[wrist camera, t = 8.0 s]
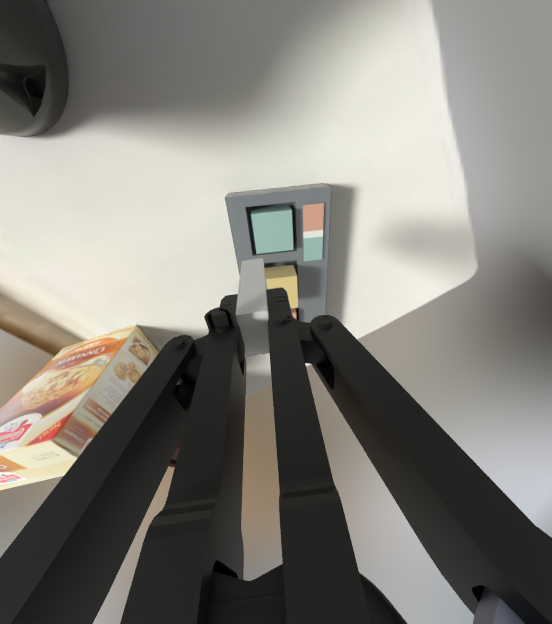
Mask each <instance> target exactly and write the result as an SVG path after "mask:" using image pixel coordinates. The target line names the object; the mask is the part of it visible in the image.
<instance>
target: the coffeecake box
mask: <svg viewBox="0 0 552 624" xmlns="http://www.w3.org/2000/svg"><path fill="white" fill-rule="evenodd" d="M157 354H158V351H157V349H156V348H155V347H154V346H153V345H152V344H151V343H150V341H149V340H148V339H147V337H146V336H145V334H144V333H143V332H142V331H141V330H140V328H139V327H138V326H137V325H134V326H131V327H128V328H125V329H121V330H118V331H115V332H112V333H108V334H105V335H102V336H99V337H96V338H93V339H90V340H86V341H83V342H80V343H77V344H74V345H70V346H67V347H64V348H63V349H62V350H61V351H60V352H59V353H58V354H57V355H56V356H55V357H54V358H53V359H52V360H51V361H50V362H49V363H48V364H47V365H46V366H45V367H44V368H43V369H42V370H41V371H40V372H39V373H37V375H35V376H34V377H33V378H32V379H31V380H30V381H29V382H28V383H27V384H26V385H25V386H24V387H23V388H22V389H21V390H20V391H19V392H18V393H17V394H16V395H15V396H14V397H13V398H12V399H11V400H9V401H8V402H7V403H6V404H5V405H4V406H3V407H2V408H1V409H0V490H3V489H7V488H12V487H16V486H20V485H25V484H29V483H33V482H38V481H42V480H47V479H51V478H55V477H60V476H64V475H65V474H66V473H67V471H68V470H69V469H70V467H71V466H72V465H73V464H74V462H75V461H76V460H77V458H78V457H79V456H80V455H81V453H82V452H83V451H84V449H85V448H86V447H87V445H88V444H89V443H90V442H91V440H92V439H93V438H94V436H95V435H96V434H97V433H98V431H99V430H100V429H101V427H102V426H103V425H104V424H105V422H106V421H107V420H108V418H109V417H110V416H111V415H112V413H113V412H114V411H115V409H116V408H117V407H118V405H119V404H120V403H121V402H122V400H123V399H124V398H125V396H126V395H127V394H128V393H129V391H130V390H131V389H132V387H133V386H134V385H135V384H136V382H137V381H138V380H139V378H140V377H141V376H142V375H143V373H144V372H145V371H146V369H147V368H148V367H149V365H150V364H151V363H152V362H153V360H154V359H155V357H156V356H157Z"/></svg>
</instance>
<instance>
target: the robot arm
mask: <svg viewBox="0 0 552 624" xmlns="http://www.w3.org/2000/svg"><path fill="white" fill-rule="evenodd" d="M67 92H68V71H67V63H66V57H65V53H64V48H63V45H62V41H61V38H60V35H59V32H58V29H57V26H56V24H55V21H54V19H53V16H52V14H51V12H50V10H49V7H48V5H47V3H46V1H45V0H0V134H1V135H11V136H31V135H36V134H39V133H42V132H44V131H46V130H47V129H49V128H50V127H51V126H52V125H54V124H55V122H56V121H57V120H58V118H59V117H60V115H61V113H62V111H63V109H64V106H65V103H66V99H67ZM204 318H205V320H206V323H207V326H208V329H209V334H208V335H206V336H204V337H202V338H199V339H196V340H193V338H192V337H191V336H188V335H181V336H178V337H175V338H173V339H172V340H170V341H169V342H168V343H167V344H166V345H165V346H164V347H163V349H162V350H161V351H160V353H159V354H158V355H157V356H156V358H155V359H154V360H153V362H152V363H151V364H150V365H149V367H148V368H147V369H146V371H145V372H144V373H143V375H142V376H141V377H140V378H139V380H138V381H137V382H136V384H135V385H134V386H133V387H132V389H131V390H130V391H129V393H128V394H127V395H126V396H125V398H124V399H123V400H122V402H121V403H120V404H119V405H118V407H117V408H116V409H115V411H114V412H113V413H112V415H111V416H110V417H109V418H108V420H107V421H106V422H105V424H104V425H103V426H102V427H101V429H100V430H99V431H98V433H97V434H96V435H95V436H94V438H93V439H92V440H91V442H90V443H89V444H88V445H87V447H86V448H85V449H84V451H83V452H82V453H81V455H80V456H79V457H78V458H77V460H76V461H75V462H74V464H73V465H72V466H71V467H70V469H69V470H68V471H67V473H66V474H65V475H64V476H63V478H62V479H61V480H60V482H59V483H58V484H57V486H56V487H55V488H54V490H53V491H52V492H51V493H50V495H49V496H48V497H47V498H46V500H45V501H44V502H43V504H42V505H41V506H40V507H39V509H38V510H37V511H36V513H35V514H34V515H33V517H32V518H31V519H30V521H29V522H28V523H27V524H26V526H25V527H24V528H23V530H22V531H21V532H20V533H19V535H18V536H17V537H16V539H15V540H14V541H13V542H12V544H11V545H10V546H9V548H8V549H7V550H6V551H5V553H4V554H3V555H2V557H1V558H0V624H92V623H93V622H94V620H95V618H96V616H97V614H98V612H99V610H100V608H101V606H102V604H103V602H104V600H105V598H106V596H107V594H108V592H109V590H110V588H111V586H112V584H113V582H114V580H115V578H116V575H117V573H118V571H119V569H120V567H121V565H122V563H123V561H124V559H125V556H126V554H127V552H128V550H129V548H130V546H131V544H132V542H133V540H134V537H135V535H136V533H137V531H138V529H139V527H140V525H141V522H142V520H143V518H144V516H145V514H146V512H147V510H148V508H149V506H150V504H151V501H152V499H153V497H154V495H155V493H156V491H157V489H158V487H159V485H160V482H161V480H162V478H163V476H164V474H165V472H166V470H167V468H168V466H169V464H170V461H171V459H172V457H173V455H174V453H175V451H176V449H177V447H178V445H179V443H180V440H181V438H182V441H181V445H180V449H179V453H178V457H177V461H176V465H175V469H174V473H173V478H172V481H171V485H170V489H169V493H168V497H167V501H166V504H165V506H164V508H163V510H162V511H161V512H160V513H159V514H157V515H156V516H155V517H154V519H153V520H152V522H151V524H150V525H149V528H148V530H147V533H146V536H145V539H144V542H143V545H142V549H141V552H140V556H139V559H138V563H137V567H136V570H135V574H134V577H133V581H132V585H131V588H130V591H129V595H128V598H127V602H126V605H125V609H124V612H123V616H122V619H121V623H120V624H407V623H406V621H405V620H404V619H403V618H402V616H401V615H400V614H399V613H398V611H397V610H396V609H395V608H394V606H393V605H392V604H391V603H390V601H389V600H388V599H387V598H386V597H385V595H384V594H383V593H382V592H381V591H380V590H379V589H378V588H377V587H376V586H375V585H374V584H373V583H372V582H371V581H369V580H368V579H367V578H366V577H364V576H363V575H362V574H360V573H359V571H358V567H357V563H356V559H355V555H354V551H353V547H352V543H351V539H350V535H349V531H348V527H347V523H346V519H345V515H344V511H343V507H342V503H341V500H340V497H339V494H338V491H337V489H336V487H335V485H334V482H333V478H332V474H331V470H330V466H329V461H328V457H327V453H326V449H325V445H324V441H323V436H322V432H321V428H320V424H319V420H318V415H317V411H316V407H315V403H314V399H313V395H312V391H311V386H310V382H309V378H308V374H307V369H306V365H305V363H310V364H312V365H313V367H314V369H315V371H316V372H317V374H318V376H319V377H320V379H321V381H322V382H323V384H324V385H325V387H326V389H327V390H328V392H329V394H330V395H331V397H332V398H333V400H334V402H335V403H336V405H337V406H338V408H339V410H340V412H341V413H342V415H343V416H344V418H345V420H346V421H347V423H348V424H349V426H350V428H351V429H352V431H353V433H354V434H355V436H356V437H357V439H358V441H359V442H360V444H361V445H362V447H363V449H364V451H365V452H366V454H367V455H368V457H369V459H370V460H371V462H372V464H373V465H374V467H375V468H376V470H377V472H378V473H379V475H380V477H381V478H382V480H383V481H384V483H385V485H386V486H387V488H388V490H389V491H390V493H391V494H392V496H393V498H394V499H395V501H396V503H397V504H398V506H399V508H400V509H401V511H402V512H403V514H404V516H405V517H406V519H407V521H408V522H409V524H410V525H411V527H412V529H413V530H414V532H415V533H416V535H417V537H418V538H419V540H420V542H421V543H422V545H423V547H424V548H425V550H426V551H427V553H428V554H429V555H430V557H431V559H432V560H433V562H434V563H435V565H436V566H437V568H438V569H439V571H440V572H441V574H442V575H443V576H444V578H445V579H446V580H447V582H448V583H449V584H450V586H451V587H452V588H453V590H454V591H455V592H456V593H457V595H458V596H459V597H460V599H461V600H462V601H463V603H464V604H465V605H466V606H467V607H468V608H469V610H470V611H471V612H472V613H473V614H474V621H473V624H552V538H551V537H550V536H548V535H547V534H546V533H544V532H543V531H542V530H540V529H539V528H538V527H536V526H535V525H534V524H533V523H532V522H531V521H530V520H529V519H528V518H527V517H526V515H525V514H524V513H523V512H522V511H521V510H520V509H519V508H518V507H517V506H516V505H515V504H514V503H513V502H512V501H511V500H510V499H509V498H508V497H507V496H506V495H505V494H504V493H503V491H501V489H500V488H499V487H498V486H497V485H496V484H495V483H494V482H493V481H492V480H491V479H490V478H489V477H488V476H487V475H486V474H485V473H484V472H483V471H482V470H481V469H480V468H479V466H477V464H476V463H475V462H474V461H473V460H472V459H470V457H469V456H468V455H467V454H466V453H465V452H464V451H463V450H462V449H461V448H460V447H459V446H458V445H457V443H456V442H454V440H453V439H452V438H451V437H450V436H449V435H448V434H447V433H446V432H445V431H444V430H443V429H442V428H441V427H440V426H439V425H438V424H437V423H436V422H435V421H434V420H433V418H432V417H431V416H429V414H428V413H427V412H426V411H425V410H424V409H423V408H422V407H421V406H420V405H419V404H418V403H417V402H416V401H415V400H414V399H413V398H412V397H411V395H410V394H409V393H408V392H406V390H405V389H404V388H403V387H402V386H401V385H400V384H399V383H398V382H397V381H396V380H395V379H394V378H393V377H392V376H391V375H390V374H389V373H388V371H386V369H385V368H384V367H383V366H382V365H381V364H380V363H379V362H378V361H377V360H376V359H375V358H374V357H373V356H372V355H371V354H370V353H369V352H368V351H367V350H366V349H365V347H364V346H363V345H362V344H361V343H360V342H358V340H357V339H356V338H355V337H354V336H353V335H352V334H351V333H350V332H349V331H348V330H347V329H346V328H345V327H344V326H343V325H342V323H341V322H340V321H339V320H338V319H336V318H335V317H333V316H330V315H320V316H317V317H315V318H313V319H312V320H311V323H309V322H301V321H298V320H297V319H295V318H294V317H293V315H292V312H291V307H290V303H289V299H288V295H287V291H286V290H285V289H284V288H283V287H281V288H273V289H268V288H267V281H266V275H265V268H264V262H263V258H259V259H252V260H245V261H242V263H241V272H240V281H239V289H238V294H235V295H228V296H225V297H224V298H223V299H222V300H221V304H220V307H219V308H215V309H213V310H210V311H209V312H208V313H206V315H205V317H204ZM245 352H246V356H250V355H257V354H265V353H270V364H271V377H272V391H273V405H274V418H275V431H276V445H277V459H278V472H279V486H280V496H279V513H280V529H281V544H282V557H283V564H282V565H280V566H278V567H276V568H274V569H273V570H271V571H269V572H267V573H265V574H264V575H262V576H260V577H258V578H256V579H254V580H252V581H245V580H243V566H244V557H243V556H244V553H243V552H244V551H243V540H242V534H241V509H242V480H243V476H242V475H243V449H244V421H245V419H244V418H245V391H246V360H245ZM182 436H183V437H182Z"/></svg>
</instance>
